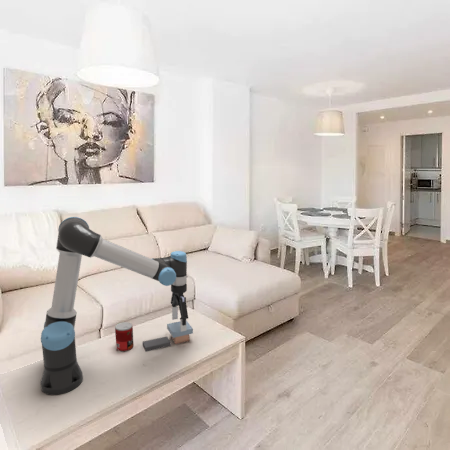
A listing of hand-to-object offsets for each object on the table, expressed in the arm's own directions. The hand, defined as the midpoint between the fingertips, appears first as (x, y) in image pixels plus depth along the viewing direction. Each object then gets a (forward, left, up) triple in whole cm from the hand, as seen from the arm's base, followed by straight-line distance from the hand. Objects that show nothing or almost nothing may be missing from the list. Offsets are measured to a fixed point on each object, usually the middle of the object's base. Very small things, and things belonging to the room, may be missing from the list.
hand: (179, 324), depth 170 cm
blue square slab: (0, 0, -3) cm, 3 cm away
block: (-12, -1, -8) cm, 14 cm away
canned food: (-26, +4, -8) cm, 27 cm away
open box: (0, 0, -8) cm, 8 cm away
